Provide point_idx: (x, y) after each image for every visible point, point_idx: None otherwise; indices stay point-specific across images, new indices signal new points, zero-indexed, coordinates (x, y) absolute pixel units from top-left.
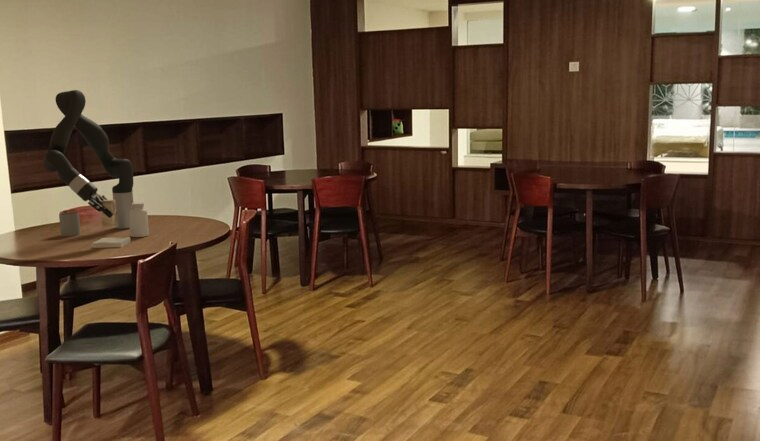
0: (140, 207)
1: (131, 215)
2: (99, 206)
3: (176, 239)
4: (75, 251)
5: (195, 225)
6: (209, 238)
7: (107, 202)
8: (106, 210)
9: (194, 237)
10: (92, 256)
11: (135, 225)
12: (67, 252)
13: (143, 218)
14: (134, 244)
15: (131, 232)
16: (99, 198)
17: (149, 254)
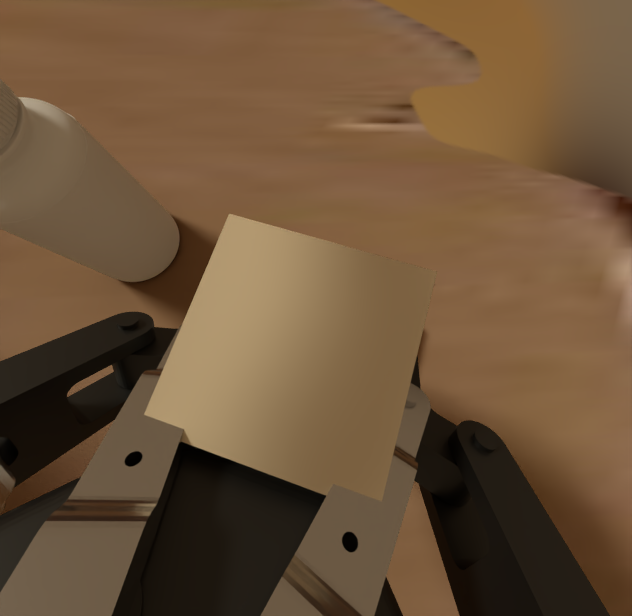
0: (16, 105)
1: (72, 212)
2: (521, 500)
3: (310, 106)
4: (439, 556)
5: (13, 43)
6: (345, 7)
7: (410, 353)
8: (413, 379)
9: (297, 49)
10: (613, 448)
11: (140, 228)
12: (455, 605)
13: (114, 159)
14: None
15: (143, 269)
16: (318, 595)
17: (623, 198)
